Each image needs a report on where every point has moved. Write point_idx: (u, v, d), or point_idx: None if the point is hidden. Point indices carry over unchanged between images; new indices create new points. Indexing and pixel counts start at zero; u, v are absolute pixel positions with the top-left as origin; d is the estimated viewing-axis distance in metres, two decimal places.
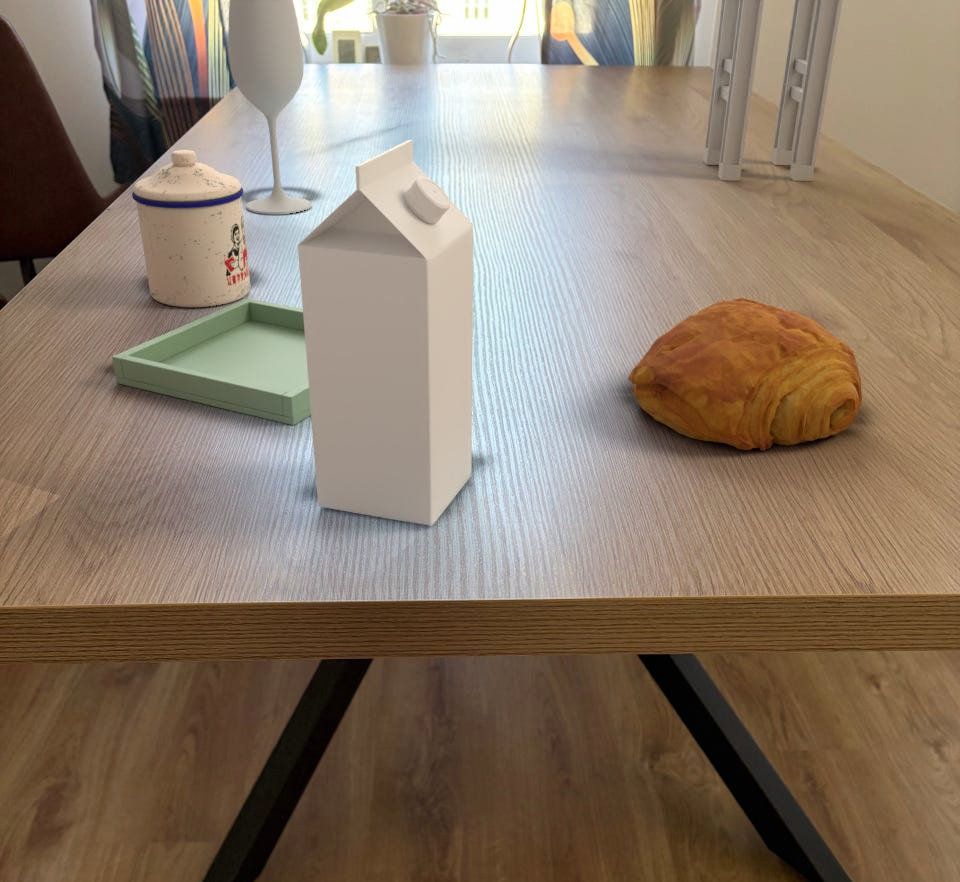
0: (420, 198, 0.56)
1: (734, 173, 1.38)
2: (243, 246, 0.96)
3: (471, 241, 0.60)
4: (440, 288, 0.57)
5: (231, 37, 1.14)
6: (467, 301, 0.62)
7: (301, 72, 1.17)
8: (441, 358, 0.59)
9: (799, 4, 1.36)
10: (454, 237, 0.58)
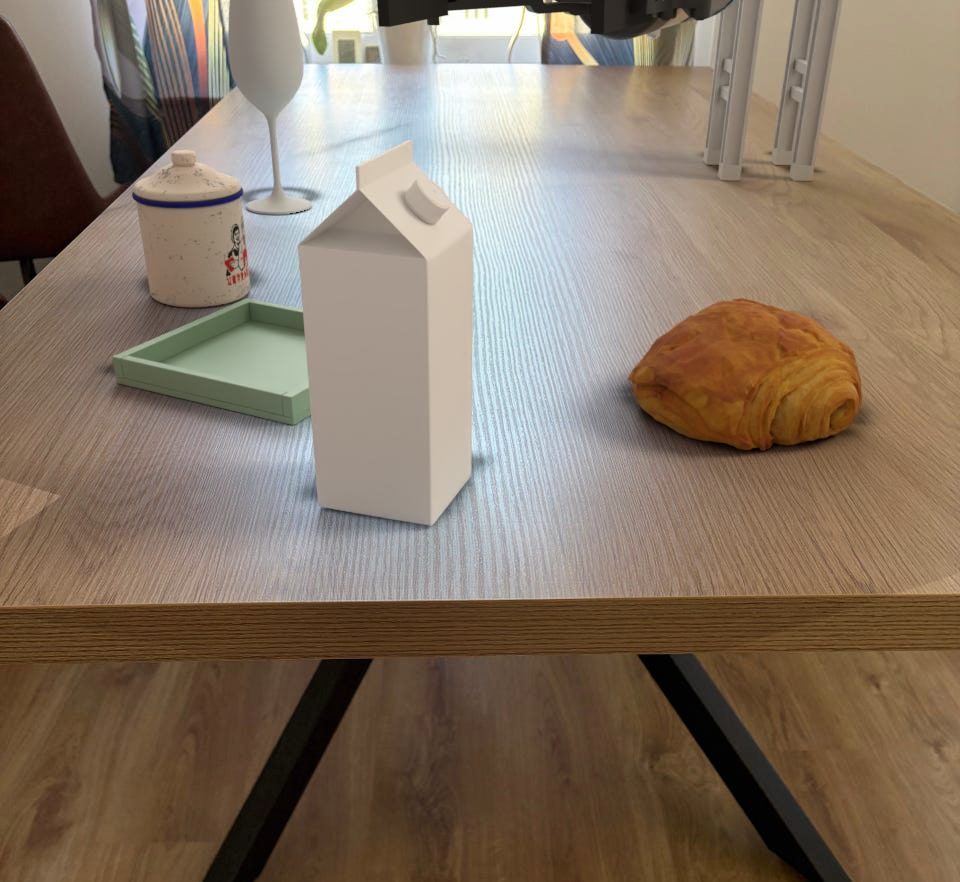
0: (420, 198, 0.56)
1: (734, 173, 1.38)
2: (243, 246, 0.96)
3: (471, 241, 0.60)
4: (440, 288, 0.57)
5: (231, 37, 1.14)
6: (467, 301, 0.62)
7: (301, 72, 1.17)
8: (441, 358, 0.59)
9: (799, 4, 1.36)
10: (454, 237, 0.58)
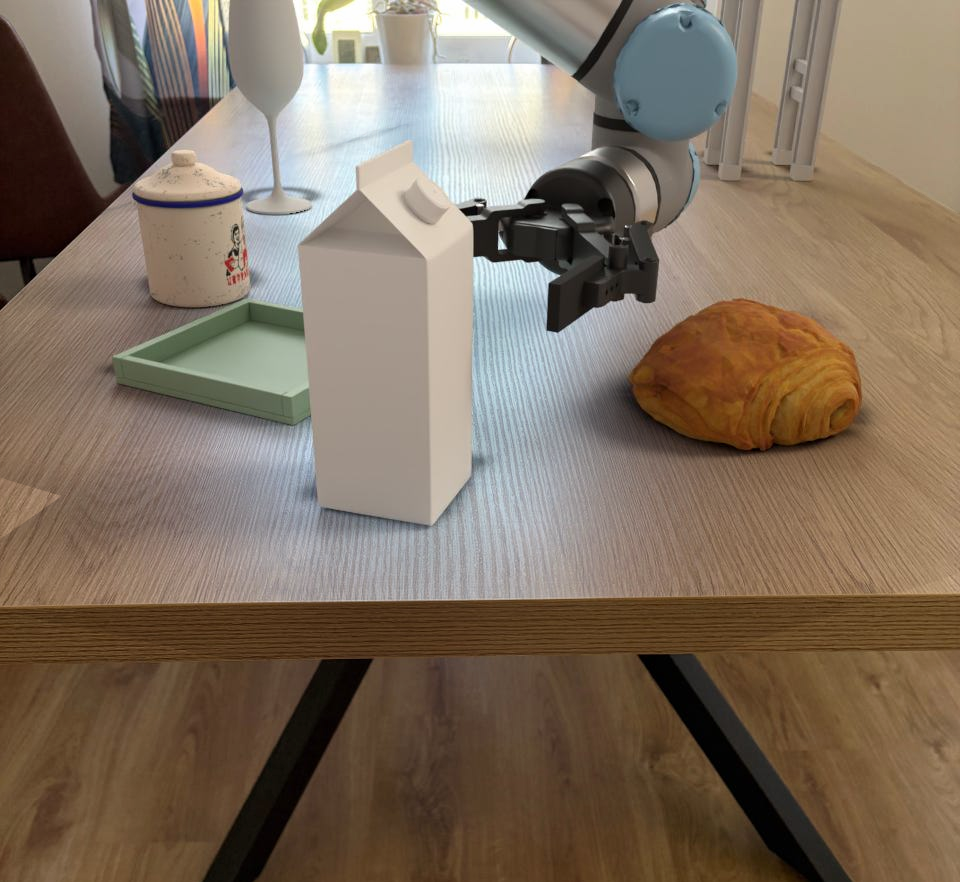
0: (420, 198, 0.56)
1: (734, 173, 1.38)
2: (243, 246, 0.96)
3: (471, 241, 0.60)
4: (440, 288, 0.57)
5: (231, 37, 1.14)
6: (467, 301, 0.62)
7: (301, 72, 1.17)
8: (441, 358, 0.59)
9: (799, 4, 1.36)
10: (454, 237, 0.58)
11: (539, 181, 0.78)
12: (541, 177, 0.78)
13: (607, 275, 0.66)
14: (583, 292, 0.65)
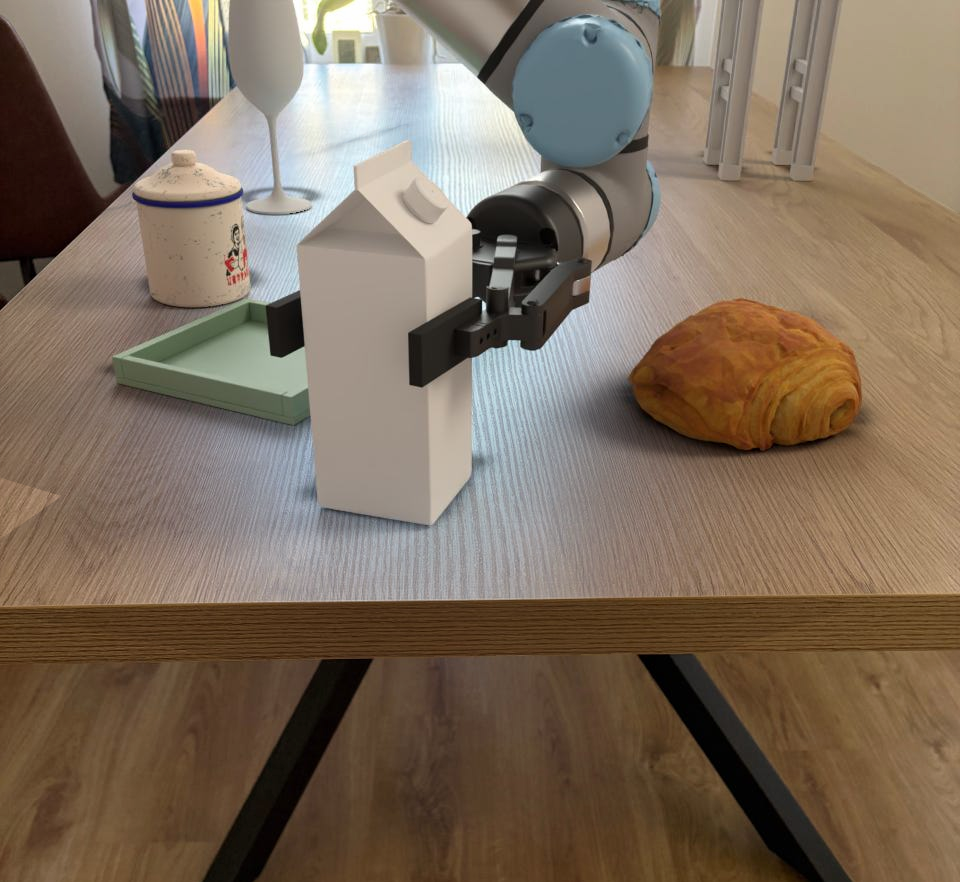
0: (418, 198, 0.56)
1: (734, 173, 1.38)
2: (243, 246, 0.96)
3: (470, 241, 0.60)
4: (438, 287, 0.57)
5: (231, 37, 1.14)
6: None
7: (301, 72, 1.17)
8: None
9: (799, 4, 1.36)
10: (452, 236, 0.58)
11: (476, 209, 0.71)
12: (478, 204, 0.71)
13: (483, 321, 0.59)
14: (454, 340, 0.58)
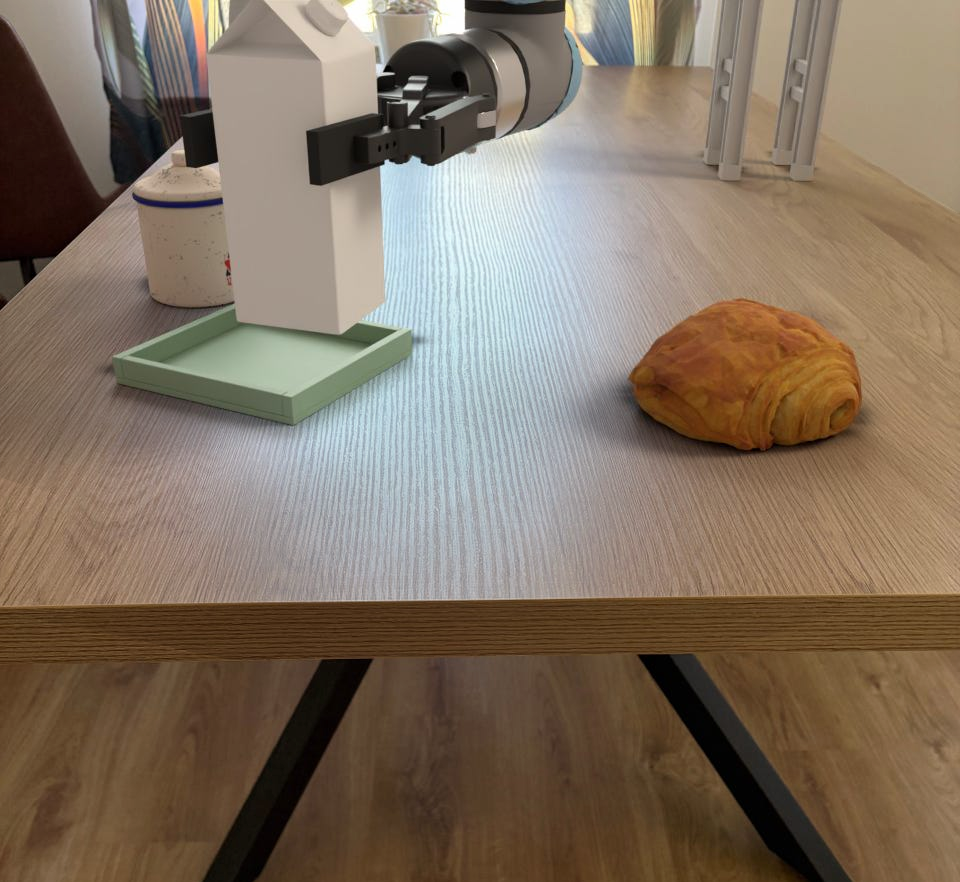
0: (318, 8, 0.60)
1: (734, 173, 1.38)
2: None
3: (373, 61, 0.65)
4: (338, 95, 0.62)
5: None
6: None
7: None
8: None
9: (799, 4, 1.36)
10: (353, 51, 0.62)
11: (394, 56, 0.75)
12: (395, 52, 0.75)
13: (382, 131, 0.63)
14: (354, 147, 0.63)
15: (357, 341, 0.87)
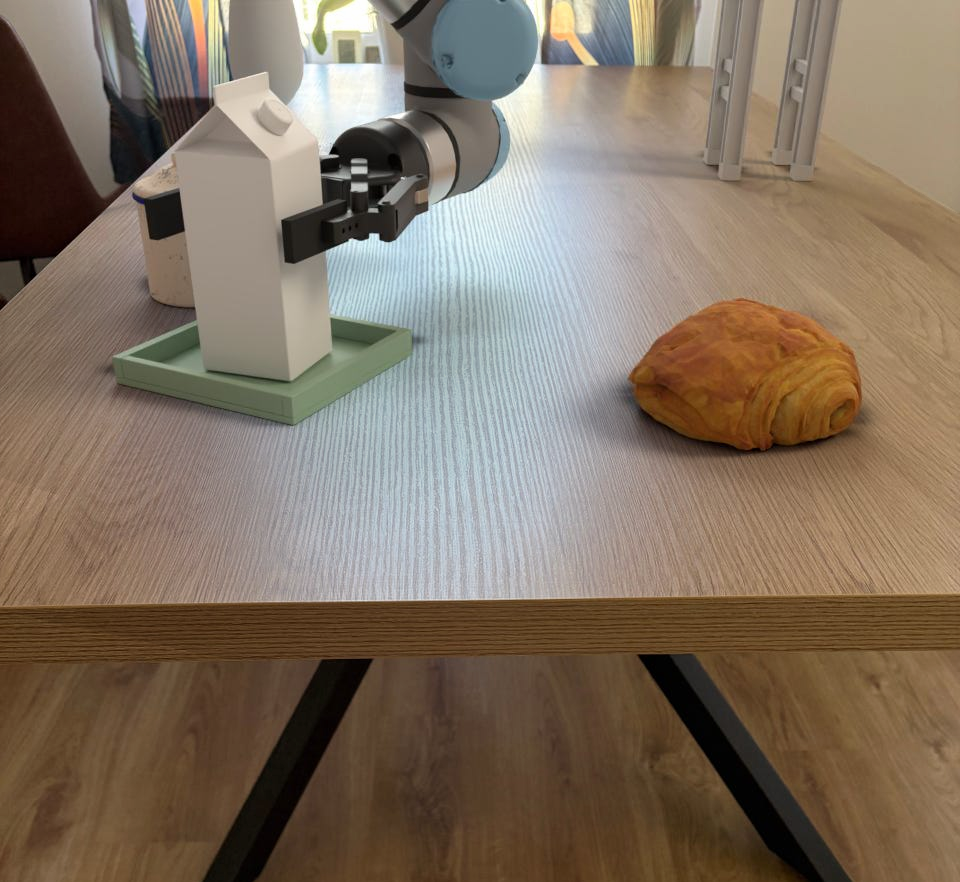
0: (267, 114, 0.72)
1: (734, 173, 1.38)
2: None
3: (317, 152, 0.77)
4: (285, 185, 0.74)
5: (231, 37, 1.14)
6: (316, 201, 0.78)
7: (301, 72, 1.17)
8: None
9: (799, 4, 1.36)
10: (298, 146, 0.74)
11: (339, 140, 0.87)
12: (340, 135, 0.87)
13: (346, 216, 0.75)
14: (322, 230, 0.75)
15: (357, 341, 0.87)
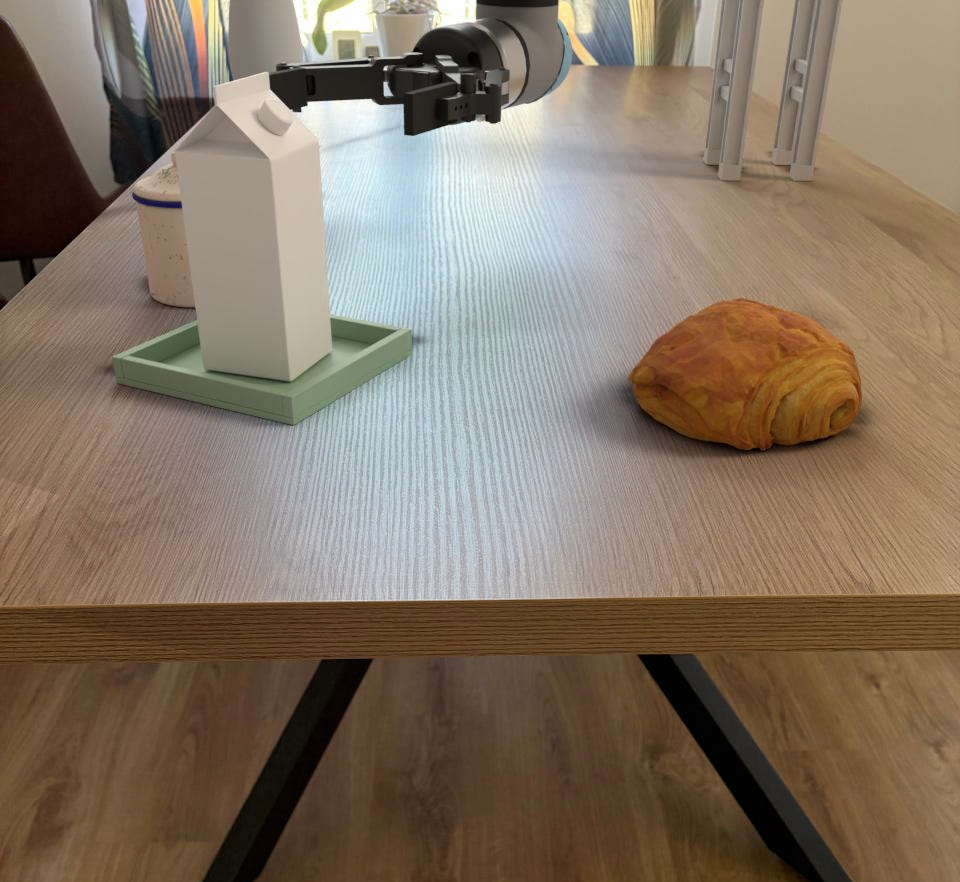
0: (267, 114, 0.72)
1: (734, 173, 1.38)
2: None
3: (317, 153, 0.77)
4: (285, 185, 0.74)
5: (231, 37, 1.14)
6: (316, 202, 0.78)
7: None
8: (290, 243, 0.76)
9: (799, 4, 1.36)
10: (298, 146, 0.74)
11: (421, 40, 0.94)
12: (422, 36, 0.94)
13: (457, 95, 0.82)
14: (437, 108, 0.81)
15: (357, 341, 0.87)
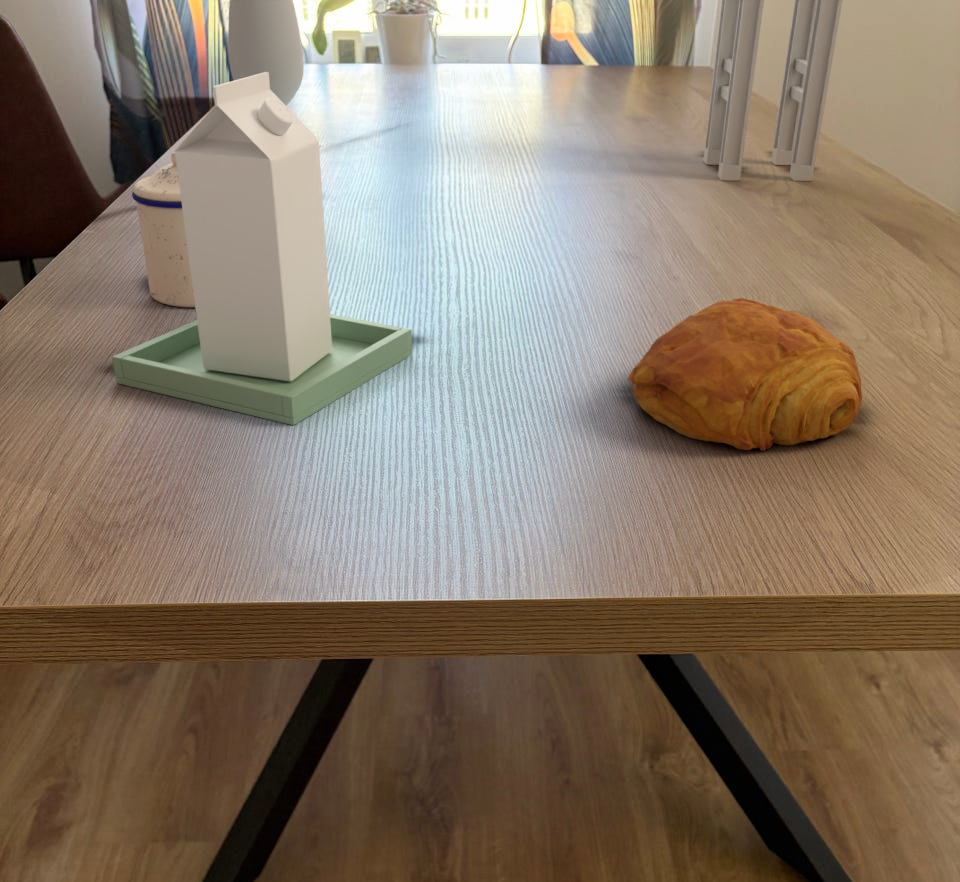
0: (267, 114, 0.72)
1: (734, 173, 1.38)
2: None
3: (317, 153, 0.77)
4: (285, 185, 0.74)
5: (231, 37, 1.14)
6: (316, 202, 0.78)
7: (301, 72, 1.17)
8: (290, 243, 0.76)
9: (799, 4, 1.36)
10: (298, 146, 0.74)
11: None
12: None
13: None
14: None
15: (357, 341, 0.87)
